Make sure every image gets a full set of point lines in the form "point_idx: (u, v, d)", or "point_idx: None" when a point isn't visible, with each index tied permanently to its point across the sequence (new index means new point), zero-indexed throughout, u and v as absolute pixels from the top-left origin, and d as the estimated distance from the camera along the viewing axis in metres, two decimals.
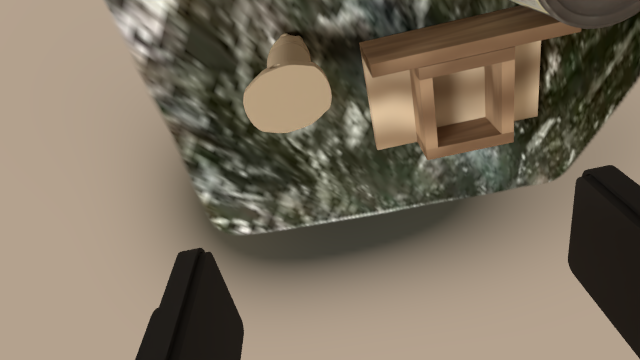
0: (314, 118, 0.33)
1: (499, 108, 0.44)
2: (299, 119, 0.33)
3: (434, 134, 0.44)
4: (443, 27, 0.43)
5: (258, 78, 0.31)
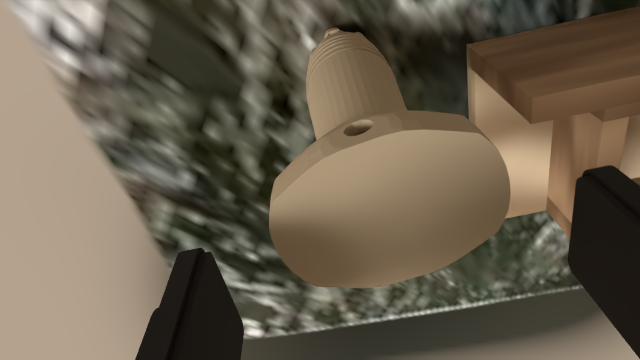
0: (452, 256, 0.13)
1: None
2: (413, 259, 0.13)
3: None
4: (637, 16, 0.22)
5: (313, 165, 0.11)
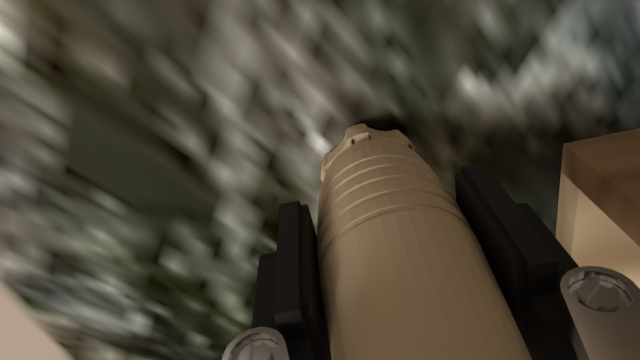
0: None
1: None
2: None
3: None
4: None
5: None
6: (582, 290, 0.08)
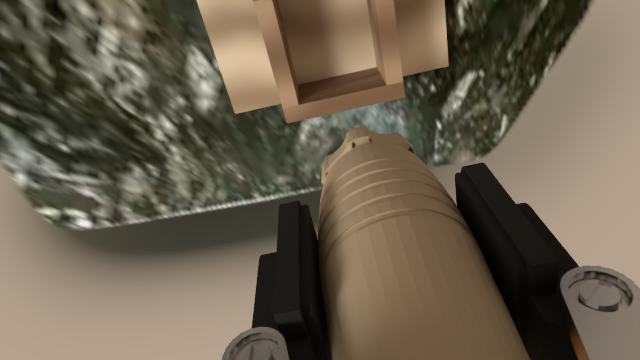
0: None
1: (380, 46, 0.31)
2: None
3: (289, 85, 0.31)
4: None
5: None
6: (582, 290, 0.08)
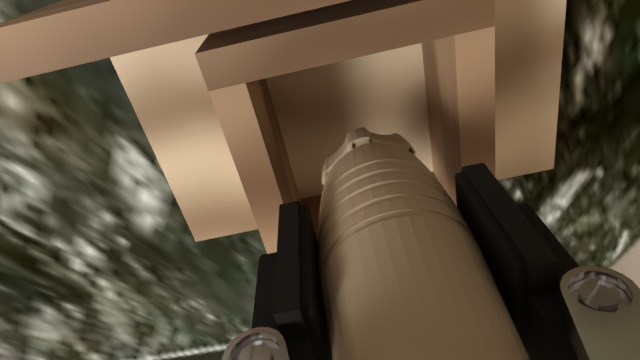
0: None
1: (457, 164, 0.16)
2: None
3: None
4: None
5: None
6: (582, 290, 0.08)
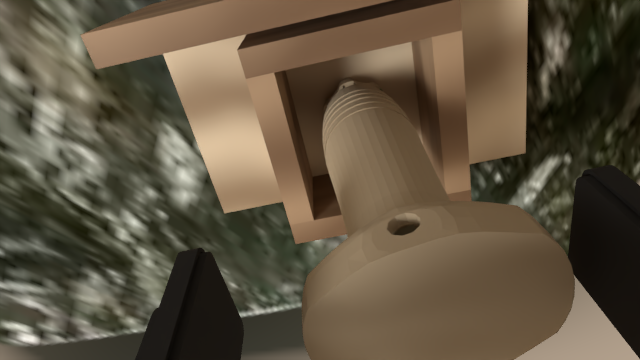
0: (505, 358, 0.11)
1: (438, 140, 0.20)
2: None
3: (301, 194, 0.21)
4: None
5: (356, 270, 0.09)
6: None
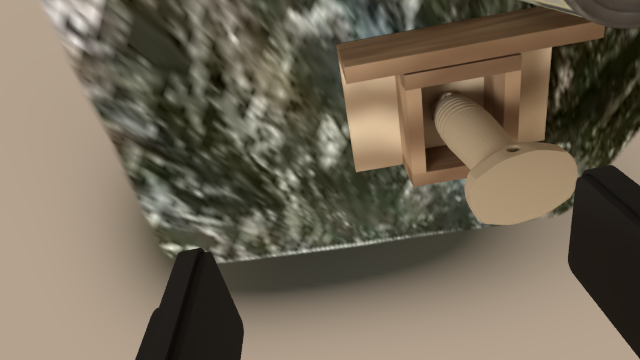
0: (548, 209, 0.27)
1: None
2: (530, 210, 0.27)
3: (422, 156, 0.37)
4: (436, 29, 0.36)
5: (497, 164, 0.25)
6: None
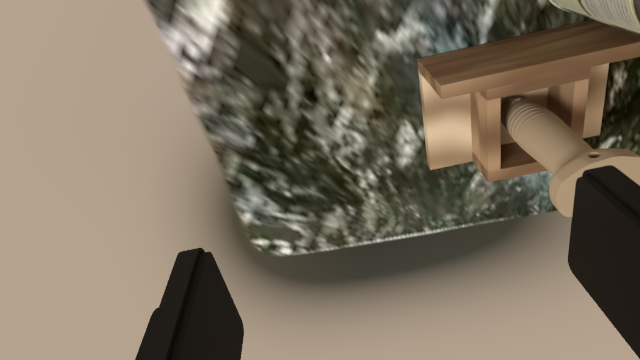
0: None
1: None
2: None
3: (497, 156, 0.42)
4: (509, 43, 0.40)
5: (581, 168, 0.31)
6: None
